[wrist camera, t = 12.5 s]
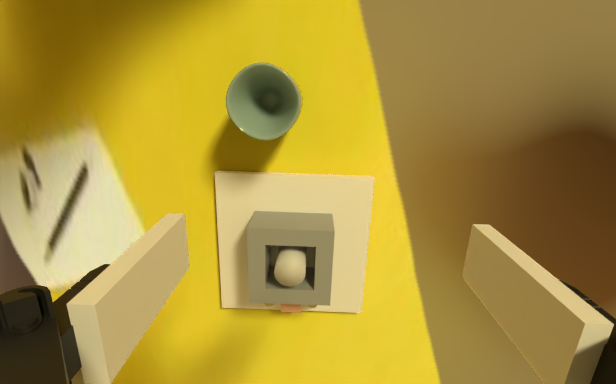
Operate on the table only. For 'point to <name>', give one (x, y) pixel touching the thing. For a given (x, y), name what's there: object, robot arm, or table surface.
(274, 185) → the post block
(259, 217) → the grey hollow box
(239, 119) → the cup
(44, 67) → the table surface
